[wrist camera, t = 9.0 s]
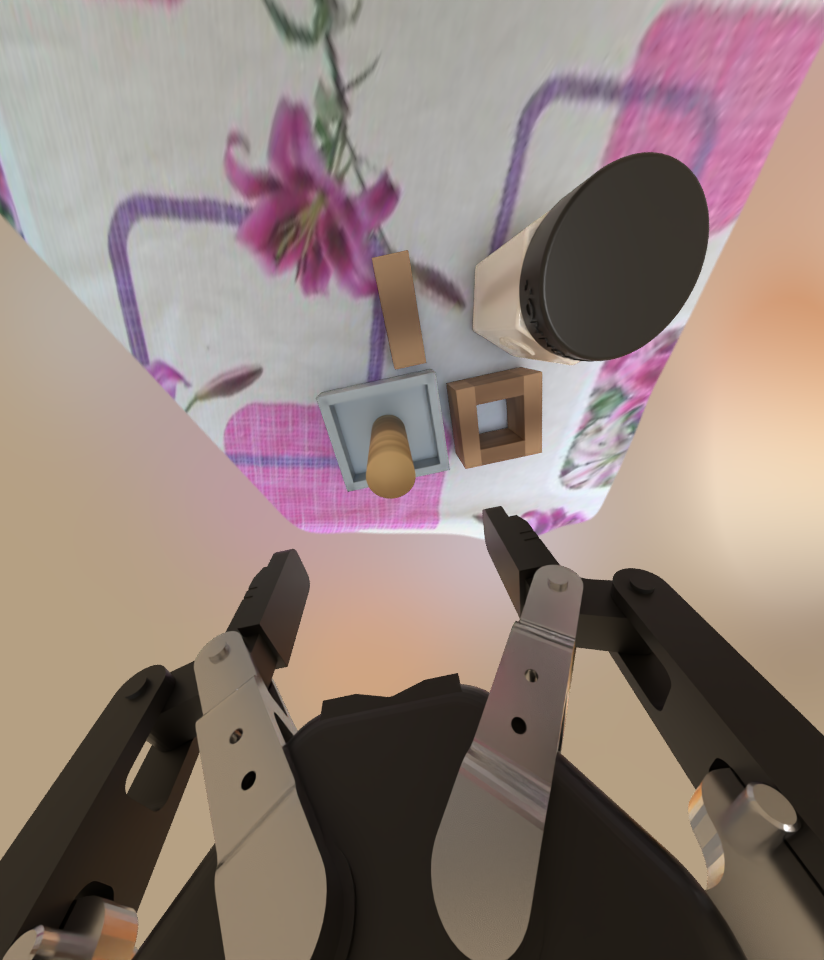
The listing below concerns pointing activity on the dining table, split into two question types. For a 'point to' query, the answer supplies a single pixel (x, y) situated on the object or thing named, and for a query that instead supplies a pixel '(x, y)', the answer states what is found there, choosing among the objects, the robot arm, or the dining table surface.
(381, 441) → the dowel
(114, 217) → the dining table surface
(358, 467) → the tray
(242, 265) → the dining table surface
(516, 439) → the socket block
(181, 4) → the dining table surface
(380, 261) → the block
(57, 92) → the dining table surface
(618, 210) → the jar
